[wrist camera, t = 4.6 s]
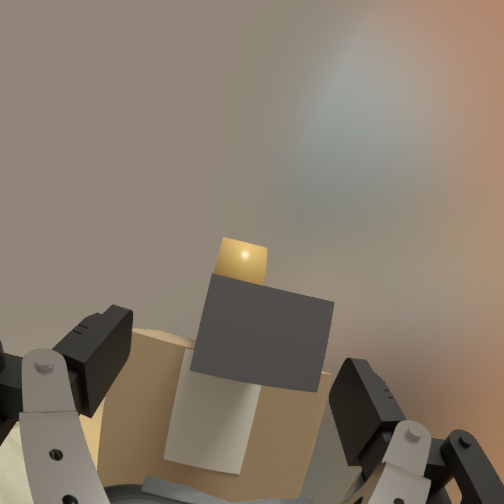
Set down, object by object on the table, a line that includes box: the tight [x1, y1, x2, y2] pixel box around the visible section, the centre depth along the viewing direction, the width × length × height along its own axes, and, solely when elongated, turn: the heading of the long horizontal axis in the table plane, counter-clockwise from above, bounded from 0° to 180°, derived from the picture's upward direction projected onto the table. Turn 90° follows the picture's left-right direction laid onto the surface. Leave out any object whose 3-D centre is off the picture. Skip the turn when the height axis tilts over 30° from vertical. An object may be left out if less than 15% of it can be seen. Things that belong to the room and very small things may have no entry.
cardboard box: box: [97, 328, 332, 502], centre depth 19 cm, size 13×14×32 cm
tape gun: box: [190, 237, 334, 393], centre depth 20 cm, size 22×4×10 cm, turn 10°
